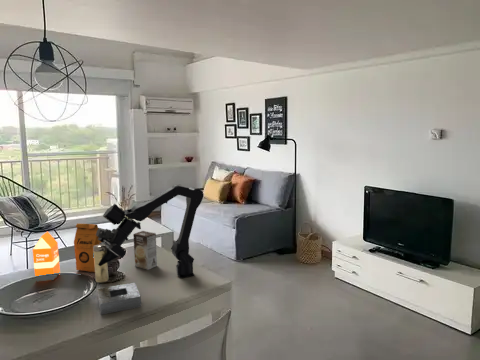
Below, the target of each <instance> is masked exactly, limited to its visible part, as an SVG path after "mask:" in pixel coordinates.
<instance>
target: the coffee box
mask: <svg viewBox="0 0 480 360" xmlns="http://www.w3.org/2000/svg"><path fill="white" fill-rule="evenodd" d="M156 235H157V234H156V233H155V232H150V231H145V230H141V231H138V232H136V233H135V232H134V233H133V235H132V236H133V248H134V249H133V251H134V267H137V268H140V269H144V270H147V271H148V270H151V269H153V268H155V267H157V266H158V259H157V258H158V257H157V253H158V252H157V236H156Z"/></svg>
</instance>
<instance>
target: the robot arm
mask: <svg viewBox="0 0 480 360" xmlns="http://www.w3.org/2000/svg"><path fill="white" fill-rule="evenodd" d="M204 195H205V194H204V191H203V190H202V189H200V188H198V187H196V186H191V187H185V186H181V185H179V184H173V185H172V186H170V187H169V188H168V189H167V190H165V191H163V192H161V193H160V194H158V195H156V196H154V197H153V198H151V199H150V200H148V201H144V202H141V203H138V204H136V205H134V206H133V207H131V208H129V209H125V210H123V209H122V208H121V207H120V206H118V205H117V203H114V204H113V205H111V206H110V207H108V208H107V209H106V210H105V211H104V213H103V215H102V218H104V219H105V220H107V221H108V222H110V223H111V224H112V225H118V226H117V227H115V228H113V229H112V230H111V229H108V228H102V227H98V230H97V233H96V236H97V237H99V238H98V240H99V241H101V243H100V242H99V244H105V245H106V247H105V254H104V256H103V257H102V259H101V260H100V262H99V264H98V265H99V266H102V265H103V264H105V263H107V264H108V263H109V262H111V261H112V260H115V259H117V258H119V257H120V258H121V259H123V258H124V257H125V256H126V254H127V253H126V250H125V249H123V247H122V245H123V244H124V242H125V241H128V240H129V236H130V235H131V233H132V232H133V231H134V230H135V229H136V228H137V229H139V230H141V229H142V228H141V222H143V221H145V220H146V219H147V218H148V217H149V216H150V215H151V214H152V213H153V212H154V211H155V210H156V209H158V208H159V207H161V206H163V205H164V204H166V203H168V202H169V201H170V200H172V199H173V198H176V197H178V196H182V197H185V202H186V204H185V205H186V209H185V211H184V216H183V219H182V223H181V228H180V231H179V235H178V238H177V239H176V240H173V241H172V244H171V248H170V249H171V253H172V255H173V256H174V257H175V259H177V264H176V265H175V270H176V275H177V276H178V278H180V279H183V278H190V277H193V276H195V273H194V260H195V258H194V257H193V256H192V255H191V254H190V253H189V252H190V243H189V242H190V236H191V231H192V228H193V224H194V222H195V216H196V212H197V209H198V208H199V206H200V205H201V204H202V201H203V199H204Z"/></svg>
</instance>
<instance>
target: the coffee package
mask: <svg viewBox="0 0 480 360" xmlns="http://www.w3.org/2000/svg"><path fill="white" fill-rule="evenodd" d="M75 228H76V229H75V230H76V231H75V235H74V239H73V247H74V254H75V256H74V257H75V265H76V266H75V267H76V268H75V270H76V271H84V272H85V271H86V272H90V273H95V266H94V258H93V246H95V245H99V242H100V243H101V241H99V240H98V238H99V237H97V236H96V233H97V230H98V228H99V226H98V224H93V223H76V225H75Z"/></svg>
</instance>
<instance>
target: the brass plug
mask: <svg viewBox="0 0 480 360" xmlns="http://www.w3.org/2000/svg"><path fill="white" fill-rule="evenodd" d="M105 247H106V245H105V244H99V245H95V246H93V253H94V266H95V272H94V276H95V282H96V283H104V282H107V281H108V280H109V271H108V270H109V268H108V267H109V266H108V262H107V263H105V264H103V265H102V266H99V265H98V264H99V262H100V260H101V259H102V257H103V256H104V254H105Z"/></svg>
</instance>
